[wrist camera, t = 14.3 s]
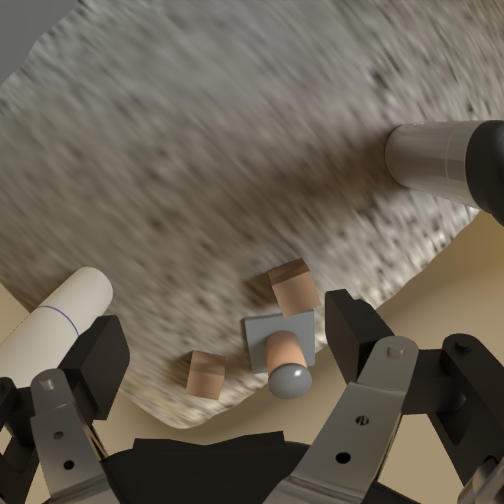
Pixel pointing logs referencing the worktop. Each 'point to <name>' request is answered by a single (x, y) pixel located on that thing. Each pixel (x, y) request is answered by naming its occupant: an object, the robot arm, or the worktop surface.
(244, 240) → the worktop surface
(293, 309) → the block
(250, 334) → the coaster
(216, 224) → the worktop surface
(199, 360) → the block
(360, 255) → the worktop surface
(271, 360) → the tan jar
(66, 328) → the cylindrical container
